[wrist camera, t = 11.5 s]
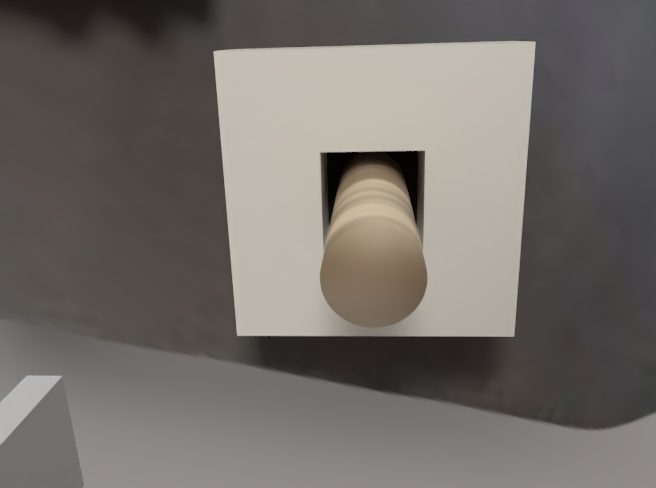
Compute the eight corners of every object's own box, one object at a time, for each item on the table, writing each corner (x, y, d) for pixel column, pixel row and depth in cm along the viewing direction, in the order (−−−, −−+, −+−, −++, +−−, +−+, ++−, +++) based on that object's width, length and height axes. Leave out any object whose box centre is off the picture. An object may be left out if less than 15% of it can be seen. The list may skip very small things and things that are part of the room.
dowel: (339, 150, 38) (317, 228, 23) (405, 149, 38) (428, 227, 22) (340, 214, 39) (321, 327, 24) (404, 213, 39) (426, 327, 24)
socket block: (233, 49, 36) (213, 51, 32) (513, 40, 35) (535, 41, 31) (252, 301, 41) (237, 335, 37) (497, 301, 40) (514, 336, 36)
